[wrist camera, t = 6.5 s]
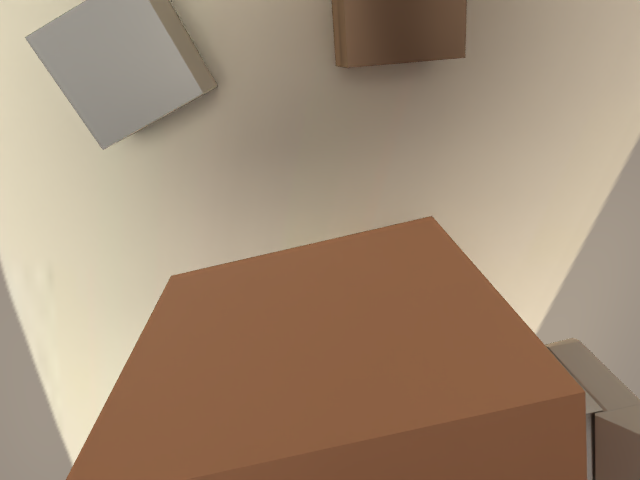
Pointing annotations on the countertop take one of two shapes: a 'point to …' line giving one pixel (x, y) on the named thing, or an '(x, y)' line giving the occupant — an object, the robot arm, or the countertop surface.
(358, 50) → the walnut cube
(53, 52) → the grey cube
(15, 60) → the countertop surface
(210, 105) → the countertop surface
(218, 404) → the terracotta cube
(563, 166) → the countertop surface
